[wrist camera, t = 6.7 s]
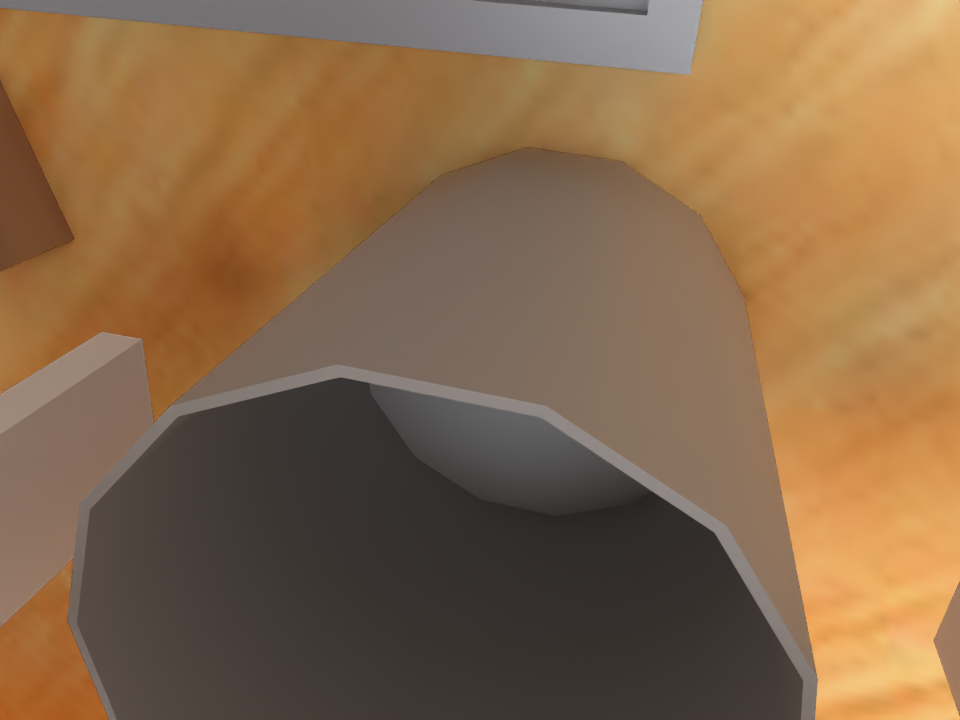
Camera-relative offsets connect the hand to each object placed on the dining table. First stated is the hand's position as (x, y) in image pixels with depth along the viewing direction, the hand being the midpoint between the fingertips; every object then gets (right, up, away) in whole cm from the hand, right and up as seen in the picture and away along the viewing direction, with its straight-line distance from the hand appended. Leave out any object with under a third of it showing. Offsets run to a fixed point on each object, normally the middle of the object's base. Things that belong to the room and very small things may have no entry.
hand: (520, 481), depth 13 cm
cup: (+1, +2, +5) cm, 6 cm away
